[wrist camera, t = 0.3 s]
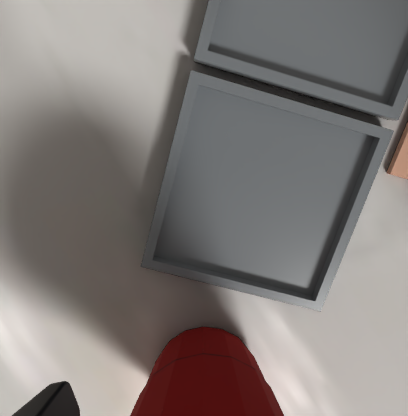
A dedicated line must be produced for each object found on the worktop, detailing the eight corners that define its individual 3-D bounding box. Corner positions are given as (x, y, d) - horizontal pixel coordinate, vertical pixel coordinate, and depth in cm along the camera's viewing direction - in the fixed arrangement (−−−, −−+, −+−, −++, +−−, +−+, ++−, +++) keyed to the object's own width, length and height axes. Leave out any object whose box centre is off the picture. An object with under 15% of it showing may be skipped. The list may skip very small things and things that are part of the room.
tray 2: (383, 129, 18) (394, 130, 17) (314, 302, 21) (320, 311, 20) (191, 72, 18) (190, 70, 17) (143, 259, 20) (140, 266, 19)
